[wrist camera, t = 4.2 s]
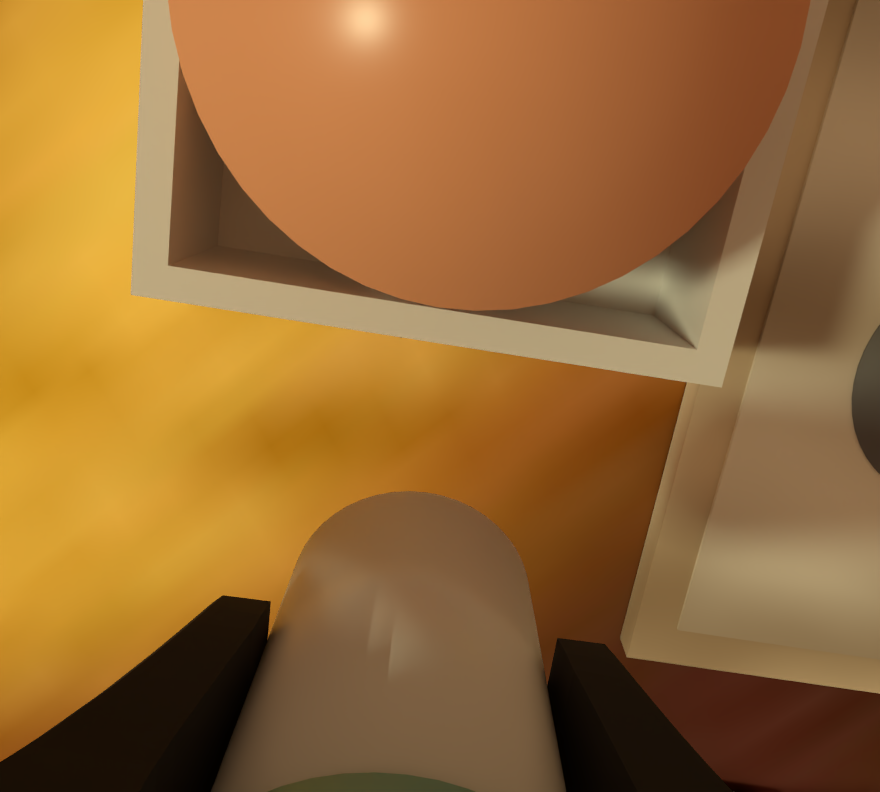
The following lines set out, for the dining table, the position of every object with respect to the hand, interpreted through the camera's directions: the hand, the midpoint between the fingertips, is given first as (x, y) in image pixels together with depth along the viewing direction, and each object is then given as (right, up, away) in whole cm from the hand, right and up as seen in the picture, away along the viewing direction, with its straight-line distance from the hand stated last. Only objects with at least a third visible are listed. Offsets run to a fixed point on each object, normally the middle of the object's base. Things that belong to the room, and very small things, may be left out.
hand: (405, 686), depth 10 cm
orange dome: (+1, +10, +4) cm, 11 cm away
